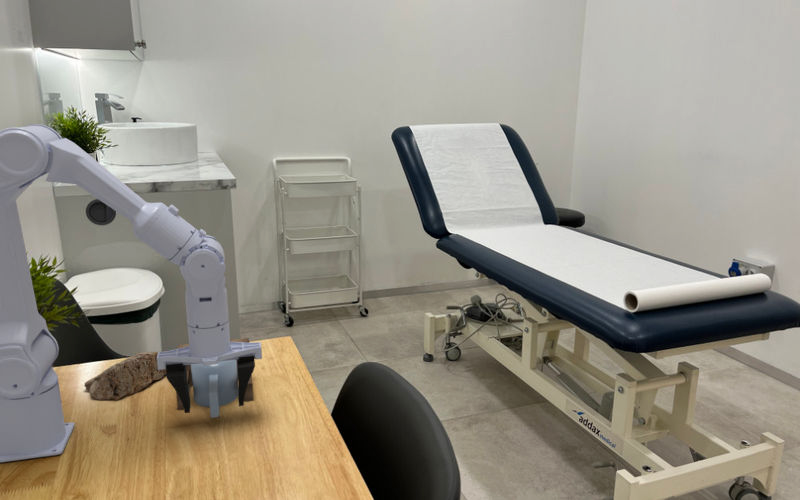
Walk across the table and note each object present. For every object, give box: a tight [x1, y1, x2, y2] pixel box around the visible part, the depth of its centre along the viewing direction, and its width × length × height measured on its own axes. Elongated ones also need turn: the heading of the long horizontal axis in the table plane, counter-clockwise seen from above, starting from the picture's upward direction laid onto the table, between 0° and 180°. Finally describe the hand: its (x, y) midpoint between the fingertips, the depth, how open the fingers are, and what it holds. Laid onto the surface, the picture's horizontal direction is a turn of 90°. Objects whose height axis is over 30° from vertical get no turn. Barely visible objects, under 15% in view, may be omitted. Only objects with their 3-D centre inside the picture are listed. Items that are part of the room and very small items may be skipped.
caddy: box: [175, 337, 254, 410], centre depth 99 cm, size 12×9×7 cm
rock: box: [84, 350, 166, 401], centre depth 103 cm, size 15×10×6 cm
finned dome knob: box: [191, 360, 239, 419], centre depth 94 cm, size 7×13×6 cm, turn 16°
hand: (214, 406), depth 90 cm, fingers open, 7 cm apart
